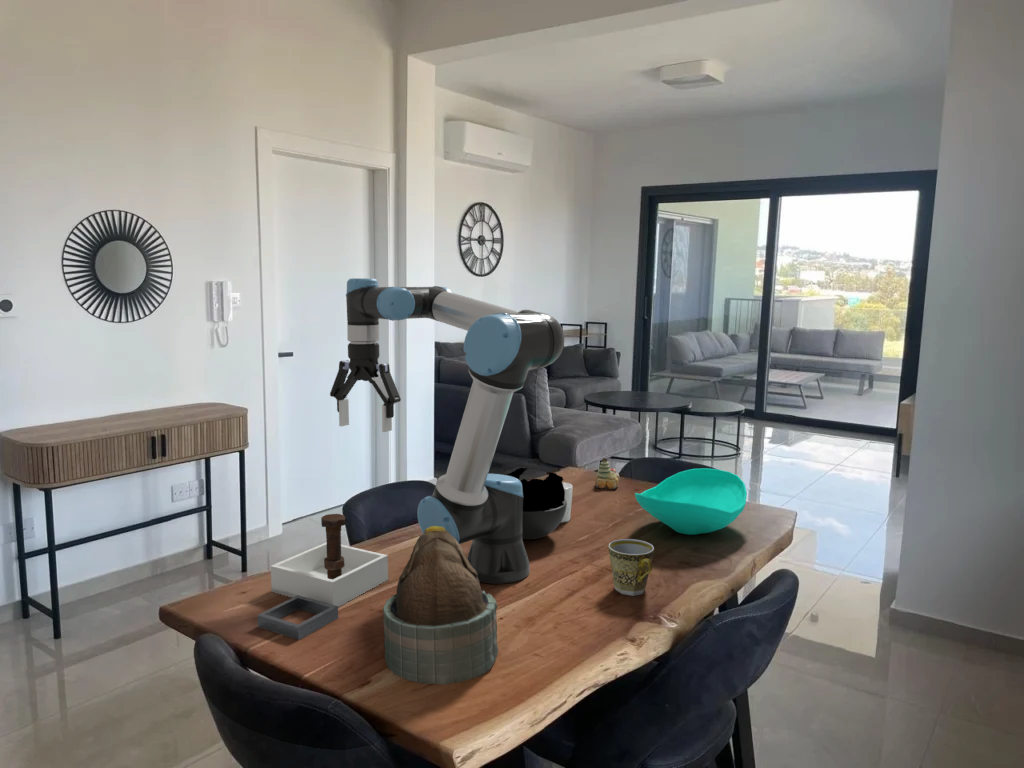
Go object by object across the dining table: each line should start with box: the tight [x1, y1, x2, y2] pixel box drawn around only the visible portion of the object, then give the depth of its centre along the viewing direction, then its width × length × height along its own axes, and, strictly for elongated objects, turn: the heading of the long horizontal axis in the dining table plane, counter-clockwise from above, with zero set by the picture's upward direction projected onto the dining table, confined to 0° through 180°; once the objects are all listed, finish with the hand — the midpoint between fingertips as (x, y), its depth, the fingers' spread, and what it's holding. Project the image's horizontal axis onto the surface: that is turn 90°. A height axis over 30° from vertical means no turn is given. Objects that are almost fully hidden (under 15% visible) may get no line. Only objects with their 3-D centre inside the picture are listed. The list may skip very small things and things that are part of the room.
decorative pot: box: [382, 526, 499, 685], centre depth 141 cm, size 23×25×22 cm
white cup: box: [560, 481, 573, 524], centre depth 219 cm, size 8×8×10 cm
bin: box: [270, 541, 389, 608], centre depth 171 cm, size 18×18×6 cm
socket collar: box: [256, 595, 339, 641], centre depth 153 cm, size 11×11×2 cm
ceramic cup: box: [608, 538, 655, 597], centre depth 168 cm, size 13×10×10 cm
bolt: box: [320, 513, 346, 580], centre depth 170 cm, size 6×5×15 cm
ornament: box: [594, 457, 620, 490], centre depth 253 cm, size 8×6×10 cm
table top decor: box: [634, 467, 748, 536], centre depth 209 cm, size 40×28×13 cm
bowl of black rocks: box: [506, 467, 567, 540], centre depth 203 cm, size 20×20×19 cm
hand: (365, 428), depth 188 cm, fingers open, 13 cm apart
